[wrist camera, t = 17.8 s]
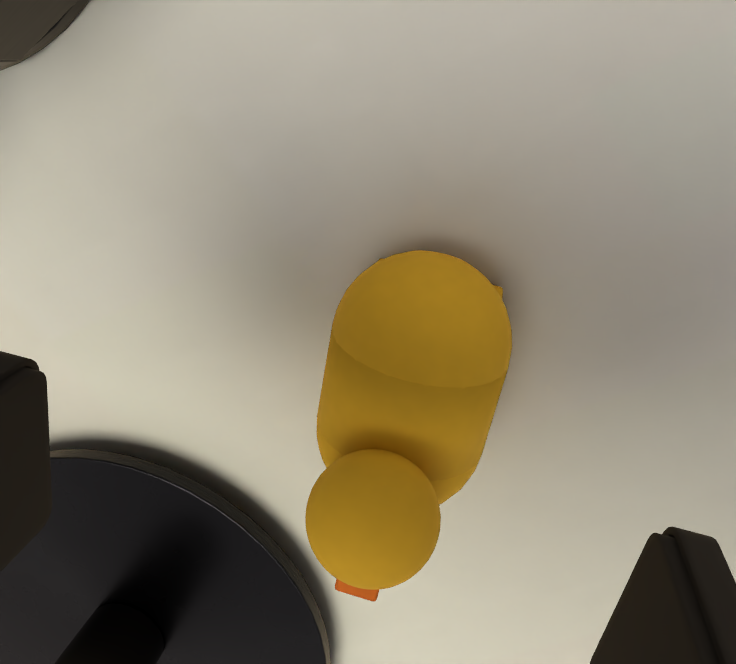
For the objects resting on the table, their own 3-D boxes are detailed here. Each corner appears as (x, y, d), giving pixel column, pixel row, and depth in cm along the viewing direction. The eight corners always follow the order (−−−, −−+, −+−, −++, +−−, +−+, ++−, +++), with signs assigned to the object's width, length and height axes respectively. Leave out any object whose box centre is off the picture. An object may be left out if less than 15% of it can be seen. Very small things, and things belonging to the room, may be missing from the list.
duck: (370, 212, 15) (286, 299, 10) (532, 249, 14) (540, 363, 9) (327, 447, 18) (244, 617, 12) (463, 485, 17) (437, 678, 12)
